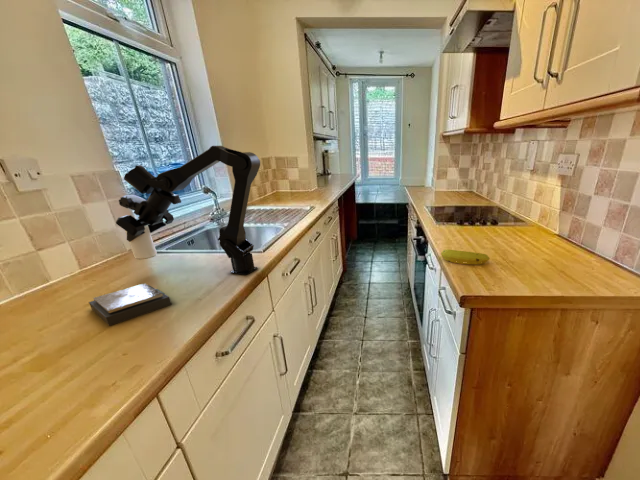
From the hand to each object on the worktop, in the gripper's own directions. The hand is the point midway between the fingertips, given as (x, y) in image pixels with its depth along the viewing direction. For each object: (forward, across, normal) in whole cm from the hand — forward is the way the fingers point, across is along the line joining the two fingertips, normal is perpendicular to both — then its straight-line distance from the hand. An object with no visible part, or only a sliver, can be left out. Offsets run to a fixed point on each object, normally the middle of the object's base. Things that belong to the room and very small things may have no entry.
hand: (136, 237), depth 107 cm
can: (+4, 0, +6) cm, 7 cm away
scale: (-3, +27, +20) cm, 34 cm away
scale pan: (-5, +27, +18) cm, 33 cm away
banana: (-72, -14, +88) cm, 115 cm away
